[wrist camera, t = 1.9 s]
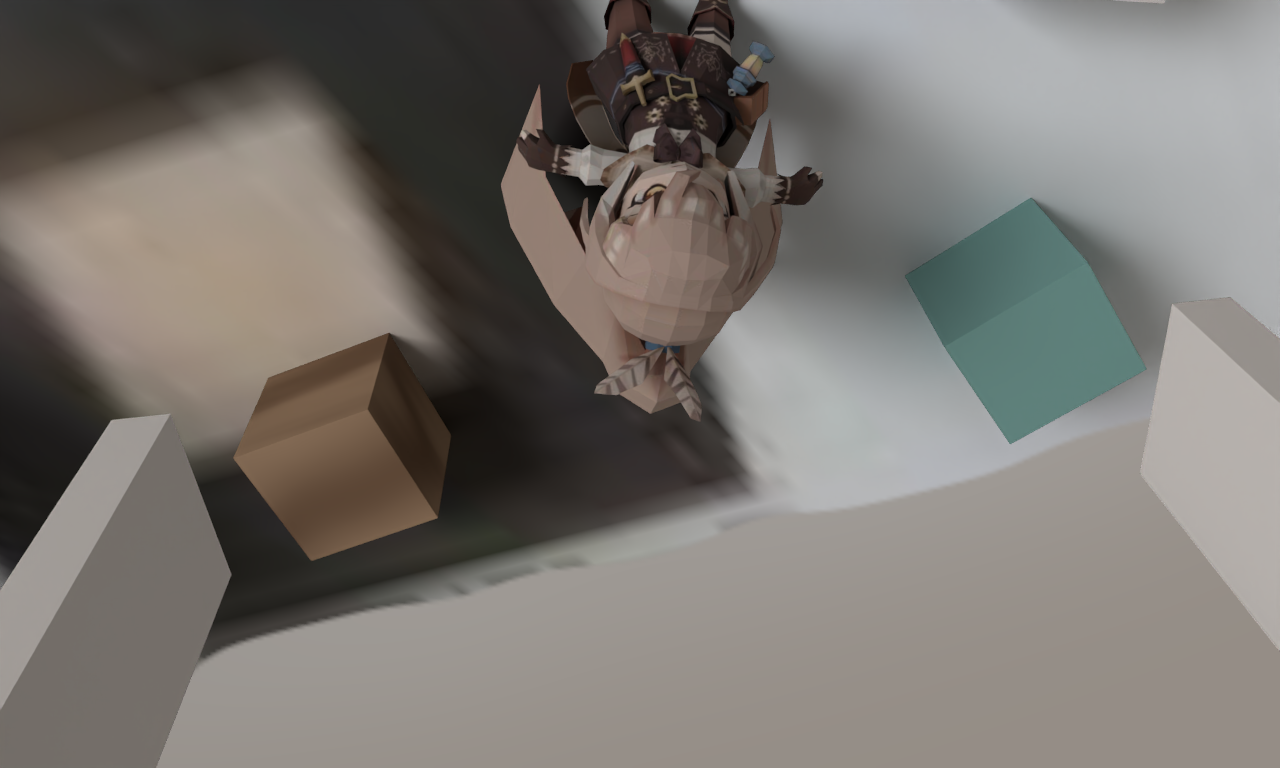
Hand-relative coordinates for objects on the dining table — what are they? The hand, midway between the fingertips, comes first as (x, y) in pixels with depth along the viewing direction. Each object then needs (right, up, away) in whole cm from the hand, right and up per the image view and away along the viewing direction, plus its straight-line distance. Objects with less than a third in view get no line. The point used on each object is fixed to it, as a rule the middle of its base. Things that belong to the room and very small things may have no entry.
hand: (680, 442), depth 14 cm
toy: (0, +10, +21) cm, 23 cm away
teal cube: (+13, +4, +25) cm, 28 cm away
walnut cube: (-11, 0, +26) cm, 29 cm away
